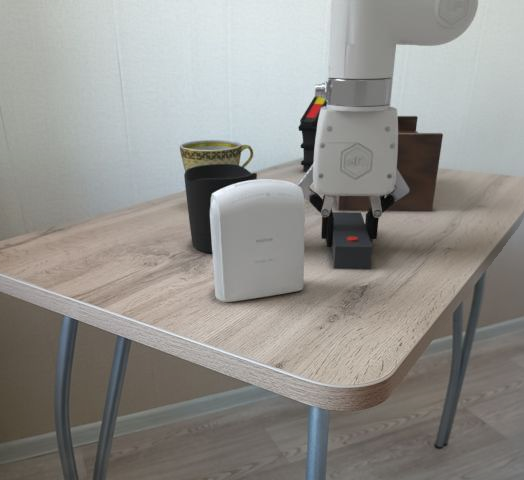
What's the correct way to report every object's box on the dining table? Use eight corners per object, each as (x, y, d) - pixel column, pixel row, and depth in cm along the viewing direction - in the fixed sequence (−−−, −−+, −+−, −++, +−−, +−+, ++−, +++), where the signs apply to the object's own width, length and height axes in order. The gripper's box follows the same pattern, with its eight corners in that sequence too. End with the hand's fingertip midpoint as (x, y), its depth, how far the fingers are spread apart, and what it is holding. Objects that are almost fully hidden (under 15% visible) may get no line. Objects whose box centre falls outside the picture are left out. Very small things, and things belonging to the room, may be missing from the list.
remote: (359, 232, 81) (361, 210, 79) (370, 270, 68) (373, 244, 66) (328, 232, 81) (329, 210, 79) (333, 269, 68) (335, 244, 66)
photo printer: (220, 306, 59) (214, 189, 53) (210, 291, 62) (203, 180, 56) (308, 293, 62) (312, 180, 56) (294, 279, 65) (297, 172, 59)
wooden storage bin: (408, 181, 109) (418, 104, 102) (431, 212, 90) (445, 120, 83) (331, 180, 110) (335, 104, 103) (338, 211, 91) (343, 120, 84)
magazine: (339, 154, 126) (333, 91, 114) (320, 190, 119) (311, 128, 108) (323, 152, 127) (316, 90, 115) (304, 189, 121) (294, 127, 109)
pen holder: (179, 253, 73) (172, 177, 68) (203, 232, 81) (199, 162, 76) (246, 259, 71) (244, 181, 66) (265, 237, 79) (265, 165, 74)
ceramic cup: (201, 217, 88) (196, 152, 83) (174, 204, 95) (169, 143, 90) (268, 205, 94) (268, 144, 89) (239, 193, 101) (237, 136, 96)
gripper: (286, 98, 62) (284, 252, 71) (438, 98, 61) (416, 254, 70) (288, 92, 69) (286, 234, 78) (425, 92, 68) (407, 236, 77)
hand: (348, 242), depth 74 cm, fingers closed on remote, 4 cm apart
